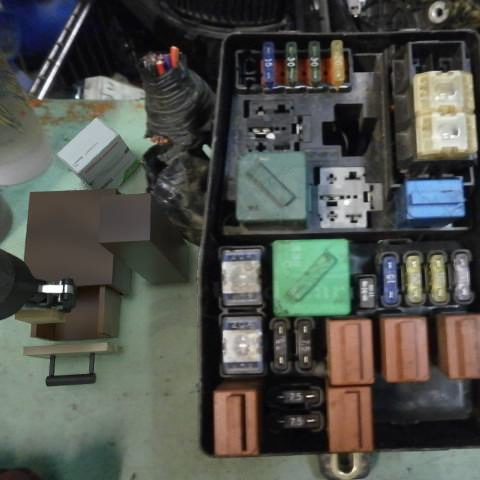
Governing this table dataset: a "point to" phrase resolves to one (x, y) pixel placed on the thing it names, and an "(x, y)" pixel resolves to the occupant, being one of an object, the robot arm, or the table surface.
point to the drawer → (80, 334)
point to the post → (143, 238)
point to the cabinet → (71, 240)
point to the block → (40, 315)
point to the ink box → (99, 156)
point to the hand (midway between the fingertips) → (49, 306)
